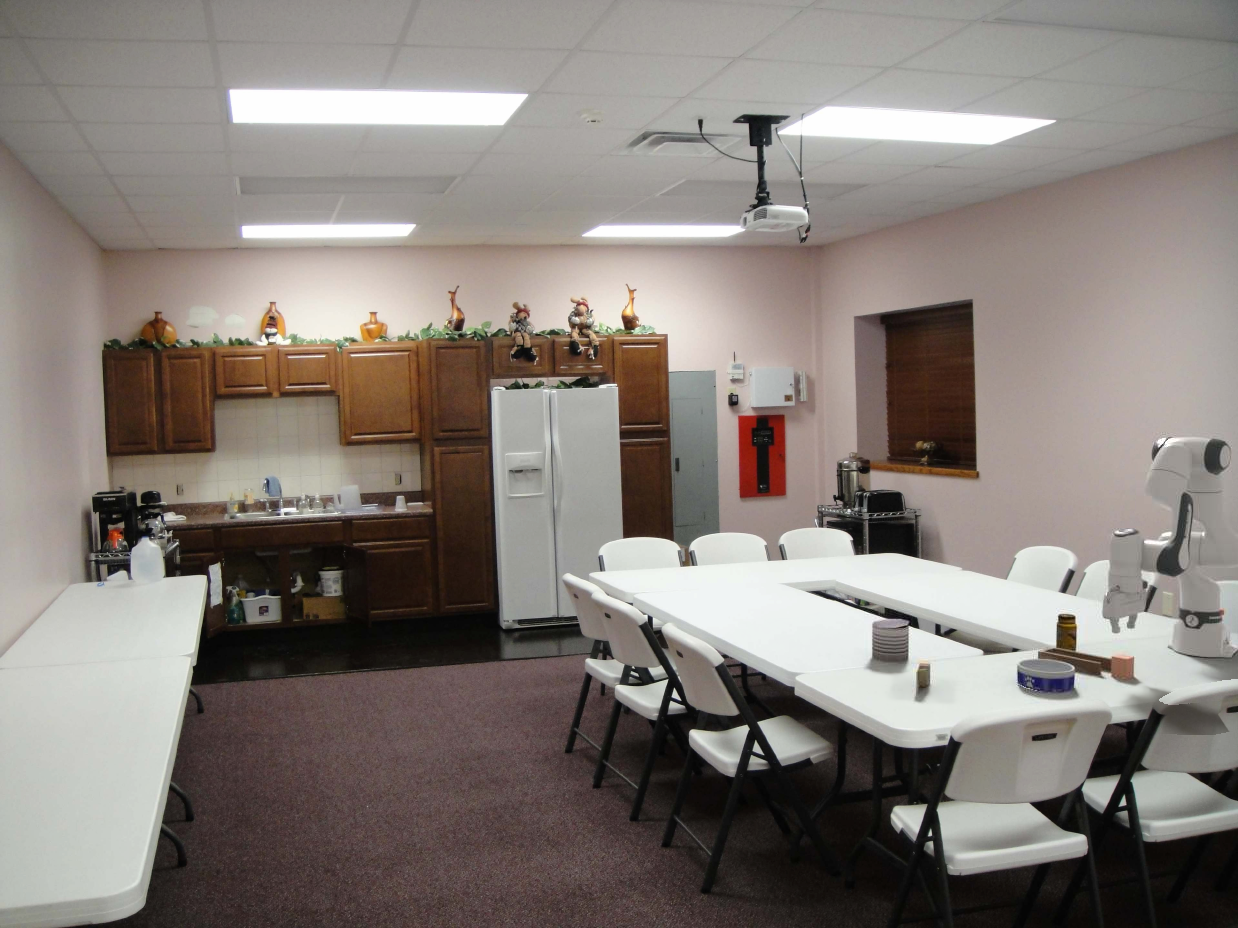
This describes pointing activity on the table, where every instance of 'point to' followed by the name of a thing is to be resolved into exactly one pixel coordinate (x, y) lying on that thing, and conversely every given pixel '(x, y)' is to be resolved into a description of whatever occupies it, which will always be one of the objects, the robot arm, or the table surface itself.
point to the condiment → (1066, 632)
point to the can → (890, 640)
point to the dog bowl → (1046, 675)
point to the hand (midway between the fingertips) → (1123, 630)
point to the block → (1122, 666)
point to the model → (922, 674)
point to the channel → (1077, 659)
